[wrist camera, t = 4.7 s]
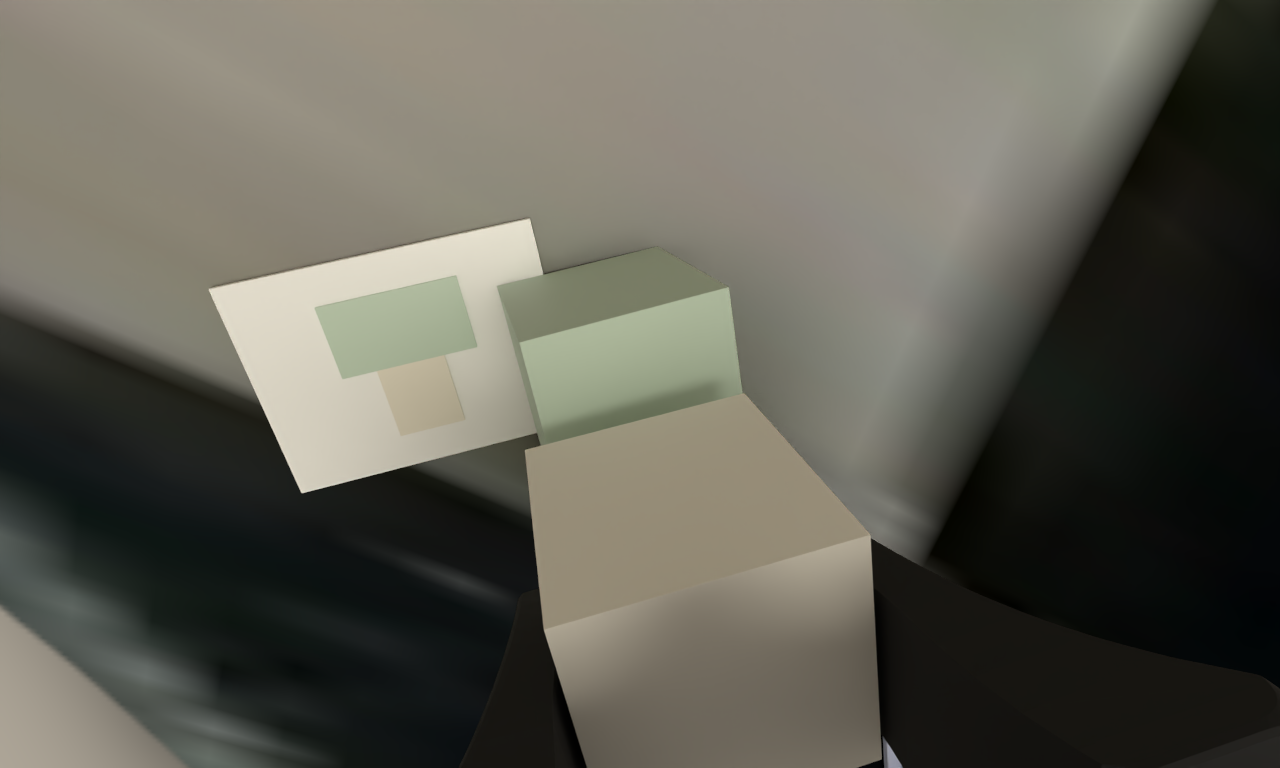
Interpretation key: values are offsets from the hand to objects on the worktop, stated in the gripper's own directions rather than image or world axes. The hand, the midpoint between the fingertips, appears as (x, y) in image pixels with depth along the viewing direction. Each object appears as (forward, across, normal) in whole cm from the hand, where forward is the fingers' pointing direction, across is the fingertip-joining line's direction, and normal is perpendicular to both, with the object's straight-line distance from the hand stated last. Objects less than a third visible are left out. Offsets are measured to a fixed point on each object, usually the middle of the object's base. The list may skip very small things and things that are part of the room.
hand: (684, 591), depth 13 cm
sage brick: (+8, 0, 0) cm, 8 cm away
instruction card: (+8, +5, -3) cm, 10 cm away
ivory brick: (+2, 0, 0) cm, 2 cm away
